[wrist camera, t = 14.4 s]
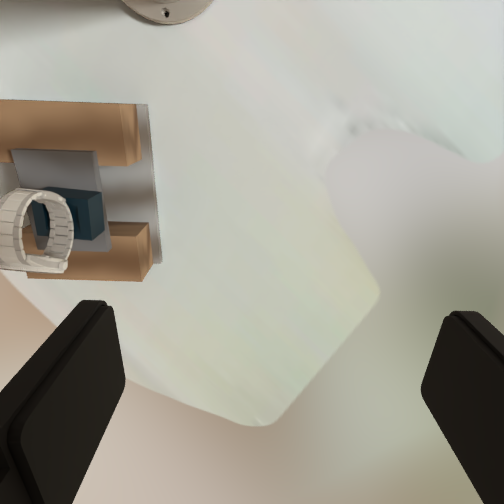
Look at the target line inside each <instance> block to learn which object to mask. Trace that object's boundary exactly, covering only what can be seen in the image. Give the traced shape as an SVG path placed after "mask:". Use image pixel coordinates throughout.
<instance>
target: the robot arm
mask: <svg viewBox="0 0 504 504" xmlns="http://www.w3.org/2000/svg"><path fill="white" fill-rule="evenodd" d="M122 1H123V2H124V3H125V4H126V5H127V6H128V7H129V8H131V9H132V10H133V11H135V12H136V13H137V14H139V15H141V16H143V17H144V18H146V19H148V20H151V21H154V22H157V23H162V24H178V23H183V22H186V21H188V20H191V19H193V18H195V17H196V16H198V15H199V14H201V13H202V12H203V11H204V10H205V9H206V8H207V7H208V6H209V5H210V4H211V3H212V1H213V0H122ZM166 12H169V17H166V16H165V13H166ZM124 387H125V373H124V367H123V361H122V356H121V350H120V344H119V339H118V333H117V327H116V322H115V316H114V311H113V308H112V307H111V306H107V303H106V302H105V301H102V300H82V301H81V302H79V303H78V305H77V306H76V307H75V308H74V309H73V310H72V311H71V312H70V314H69V315H68V316H67V317H66V318H65V319H64V320H63V322H62V323H61V324H60V325H59V326H58V327H57V328H56V329H55V331H54V332H53V333H52V334H51V335H50V336H49V337H48V339H47V340H46V341H45V342H44V343H43V344H42V345H41V346H40V348H39V349H38V350H37V351H36V352H35V353H34V355H33V356H32V357H31V358H30V359H29V360H28V361H27V362H26V363H25V365H24V366H23V367H22V368H21V369H20V370H19V372H18V373H17V374H16V375H15V376H14V377H13V378H12V379H11V380H10V382H9V383H8V384H7V385H6V386H5V387H4V388H3V390H2V391H1V392H0V504H72V503H73V501H74V498H75V496H76V494H77V492H78V489H79V487H80V485H81V483H82V481H83V479H84V476H85V474H86V472H87V470H88V467H89V465H90V463H91V461H92V459H93V457H94V454H95V452H96V450H97V448H98V446H99V443H100V441H101V439H102V437H103V435H104V432H105V430H106V428H107V426H108V424H109V421H110V419H111V417H112V415H113V412H114V410H115V408H116V406H117V404H118V402H119V399H120V397H121V395H122V393H123V390H124ZM421 394H422V397H423V399H424V401H425V403H426V405H427V406H428V408H429V410H430V412H431V413H432V415H433V417H434V418H435V420H436V422H437V424H438V425H439V427H440V429H441V431H442V432H443V434H444V436H445V438H446V439H447V441H448V443H449V444H450V446H451V448H452V450H453V451H454V453H455V455H456V456H457V458H458V460H459V461H460V463H461V465H462V467H463V469H464V470H465V472H466V474H467V475H468V477H469V479H470V480H471V482H472V484H473V486H474V488H475V489H476V491H477V493H478V494H479V496H480V498H481V500H482V501H483V503H484V504H504V335H503V334H502V333H501V332H500V331H498V330H497V329H496V328H495V327H494V326H493V325H492V324H491V323H490V322H489V321H488V320H486V319H485V318H484V317H483V316H482V315H481V314H480V313H478V312H475V311H453V312H451V313H450V315H449V316H446V317H445V318H444V320H443V323H442V326H441V329H440V332H439V335H438V337H437V340H436V343H435V346H434V349H433V352H432V355H431V358H430V361H429V364H428V367H427V369H426V372H425V376H424V378H423V381H422V384H421Z"/></svg>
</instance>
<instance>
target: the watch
mask: <svg viewBox="0 0 504 504" xmlns="http://www.w3.org/2000/svg"><path fill="white" fill-rule="evenodd" d="M30 203H31V205H32V211H33V216H34V222H35V227H36V232H37V236H48V237H50V238H49V240H48V243H47V246H48V247H46V249H45V251H44V252H43V254H42V255H37V254H27V253H25V252H24V250H23V243H22V239H21V238H22V228H20V227H22V226H23V220H24V217H23V216H24V215H25V212H26V210H27V207H28V206H29V204H30ZM0 221H1V222H0V269H4V270H11V271H22V272H35V273H49V274H61V273H64V270H66V269H67V267H68V260H67V259H68V257H69V255H70V252H71V248H72V244H73V239H79V240H89V241H93V240H94V239H95V238H96V237H97V236H99V235H100V234H101V233H102V232H103V231H104V230H105V225H104V214H103V203H102V192H98V191H88V190H78V189H68V188H59V187H49V186H48V187H45V188H43V189H40V190H34V189H25V188H16V190H13V191H10V192H8V193H7V194H6V195H4V196H3V197H2V198H1V200H0ZM8 222H11V223H8ZM8 234H10V235H8ZM69 239H70V240H69ZM58 244H59V245H58Z"/></svg>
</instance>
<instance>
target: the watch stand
mask: <svg viewBox="0 0 504 504" xmlns="http://www.w3.org/2000/svg"><path fill="white" fill-rule="evenodd" d="M0 162H8V163H14V164H15V168H16V171H17V175H18V179H19V183H20V186H21V188H25V189H34V190H40V189H43V188H45V187H48V186H49V187H59V188H68V189H78V190H88V191H98V192H102V203H103V214H104V225H105V230H104V231H103V232H102V233H101V234H100V235H99V236H97V237H96V238H95V239H94V240H93V241H89V240H79V239H73V244H72V248H71V252H70V255H69V257H68V259H67V260H68V267H67V269H66V270H64V273H61V274H49V273H35V272H26V273H27V276H28V278H35V279H69V280H102V281H136V282H142V281H143V279H144V277H145V276H146V274H147V273H148V271H149V269H150V268H151V266H152V265H153V264H161V262H162V251H161V241H160V230H159V219H158V209H157V198H156V187H155V177H154V166H153V155H152V145H151V134H150V123H149V112H148V105H146V104H118V103H90V102H62V101H33V100H4V99H1V100H0ZM27 212H28V216H29V220H30V223H31V224H30V225H29V226H27V227H25V228H23V229H22V238H21V239H22V243H23V250H24V252H25V253H27V254H37V255H42V254H43V252H44V251H45V249H46V247H48V246H47V243H48V240H49V238H50V237H48V236H37V232H36V227H35V222H34V216H33V211H32V205H31V203H30V204H29V206H28V207H27ZM69 240H70V239H69ZM58 245H59V244H58Z"/></svg>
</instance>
